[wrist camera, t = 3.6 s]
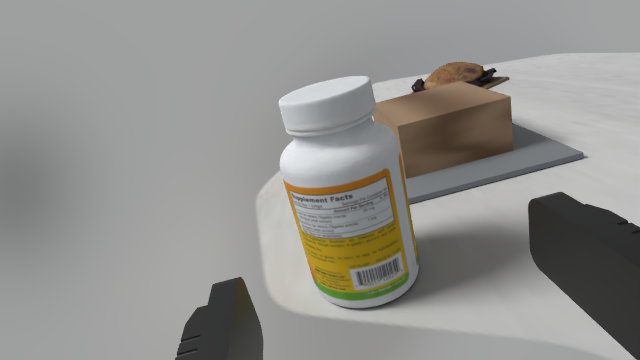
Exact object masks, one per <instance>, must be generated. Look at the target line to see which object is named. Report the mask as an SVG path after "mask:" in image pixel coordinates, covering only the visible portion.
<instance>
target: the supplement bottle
mask: <svg viewBox="0 0 640 360" xmlns="http://www.w3.org/2000/svg"><path fill="white" fill-rule="evenodd" d="M375 105H376V102H375V99H374V95H373V90H372V85H371V81H370V79H369V78H368V77H366V76H351V77H343V78H337V79H332V80H328V81H324V82H320V83H316V84H312V85H309V86H306V87H304V88H301V89H298V90H295V91H293V92H291V93H289V94H287V95H285V96H284V97H282V98H281V99H280V100H279V107H280V111H281V114H282V118H283V122H284V125H285V127H286V132H287V133H288V134H290V135H293V138H294V141H292V142H291V143H290V144H289V145H288V146H287V147H286V148H285V150H284V151H283V153H282V155H281V159H280V169H281V173H282V177H283V180H284V184H285V187H286V190H287V194H288V197H289V200H290V204H291V207H292V211H293V214H294V217H295V220H296V224H297V227H298V230H299V234H300V237H301V240H302V244H303V247H304V250H305V254H306V257H307V260H308V264H309V267H310V270H311V274H312V277H313V280H314V283H315V285H316V288H317V290H318V291H319V293H320V294H321V295H322V296H323V297H324V298H325V299H326V300H328V301H330V302H331V303H334V304H336V305H339V306H342V307H348V308H367V307H374V306H378V305H382V304H385V303H387V302H390V301H392V300H394V299H396V298H398V297H399V296H401V295H402V294H404V293H405V292H406V291H407V290H408V289H409V288H410V287H411V286H412V284H413V283H414V281H415V279H416V277H417V274H418V270H419V261H418V253H417V248H416V242H415V237H414V231H413V225H412V219H411V213H410V208H409V202H408V196H407V190H406V184H405V178H404V172H403V166H402V160H401V154H400V149H399V145H398V141H397V138H396V136H395V134H394V132H393V131H392V130H391V129H390V128H389V127H387V126H386V125H384V124H382V123H379V122H374V121H373V120H372V115H373V114H374V113H375V111H376V108H375Z"/></svg>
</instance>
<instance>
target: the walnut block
mask: <svg viewBox="0 0 640 360" xmlns="http://www.w3.org/2000/svg"><path fill="white" fill-rule="evenodd" d="M375 108H376V111H375V113H374V114H373V117H374V122H379V123H382V124H384V125H386V126H387V127H389V128H390V129H391V130H392V131H393V132H394V134H395V136H396V138H397V141H398V145H399V149H400V154H401V160H402V166H403V172H404V177H405V178H406V179H408V178H412V177H416V176H419V175H423V174H427V173H431V172H435V171H438V170H442V169H446V168H450V167H454V166H457V165H461V164H465V163H469V162H473V161H476V160H480V159H484V158H488V157H491V156H495V155H499V154H503V153H507V152H510V151H513V134H512V116H511V97H510V96H507V95H504V94H501V93H497V92H494V91H491V90H488V89H484V88H481V87H478V86H475V85H471V84H468V83H465V82H462V81H458V82H454V83H451V84H447V85H443V86H439V87H435V88H431V89H428V90H424V91H420V92H416V93H412V94H409V95H405V96H401V97H397V98H393V99H389V100H386V101H382V102H378V103H376V105H375Z"/></svg>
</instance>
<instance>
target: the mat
mask: <svg viewBox="0 0 640 360" xmlns="http://www.w3.org/2000/svg"><path fill="white" fill-rule="evenodd" d="M512 134H513V151H510V152H507V153H503V154H499V155H495V156H491V157H488V158H484V159H480V160H476V161H473V162H469V163H465V164H461V165H457V166H454V167H450V168H446V169H442V170H438V171H435V172H431V173H427V174H423V175H419V176H416V177H412V178H408V179H406V178H405V177H404V178H405V184H406V190H407V196H408V202H409V204H412V203H416V202H419V201H423V200H427V199H431V198H435V197H438V196H442V195H446V194H450V193H454V192H457V191H461V190H465V189H469V188H472V187H476V186H480V185H484V184H488V183H491V182H495V181H499V180H503V179H506V178H510V177H514V176H518V175H522V174H525V173H529V172H533V171H537V170H540V169H544V168H548V167H552V166H556V165H559V164H563V163H567V162H571V161H575V160H578V159H582V158H583V152H581V151H578V150H576V149H573V148H571V147H569V146H566V145H564V144H561V143H559V142H557V141H554V140H552V139H549V138H547V137H545V136H542V135H540V134H538V133H535V132H533V131H530V130H528V129H526V128H523V127H521V126H518V125H516V124H514V123H512Z"/></svg>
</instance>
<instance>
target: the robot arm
mask: <svg viewBox="0 0 640 360" xmlns="http://www.w3.org/2000/svg"><path fill="white" fill-rule="evenodd" d="M528 214H529V238H530V251H531V255H532V258H533V260H534V262H535V264H536V265H537V267H538V268H539V269H540V270H541V271H542V272H543V273H544V274H545V275H546V276H547V277H548V278H549V279H550V280H551V281H553V282H554V283H555V284H556V285H557V286H558V287H559V288H560V289H561V290H562V291H563V292H564V293H565V294H567V295H568V296H569V297H570V298H571V299H572V300H573V301H574V302H575V303H576V304H577V305H578V306H579V307H581V308H582V309H583V310H584V311H585V312H586V313H587V314H588V315H589V316H590V317H591V318H592V319H593V320H595V321H596V322H597V323H598V324H599V325H600V326H601V327H602V328H603V329H604V330H605V331H606V332H607V333H609V334H610V335H611V336H612V337H613V338H614V339H615V340H616V341H617V342H618V343H619V344H620V345H621V346H623V347H624V348H625V349H626V350H627V351H628V352H629V353H630V354H631V355H632V356H633V357H634V358H635V359H637V360H640V227H638V226H636V225H634V224H633V223H628V221H627V220H626V219H624V218H622V217H620V216H618V215H617V214H615V213H613V212H611V211H609V210H606V209H602V208H599V207H595V206H592V205H588V204H585V205H584V204H582V203H580V202H579V201H577V200H575V199H573V198H572V197H570V196H568V195H567V194H565V193H563V192H557V193H553V194H550V195H546V196H542V197H539V198H535V199H532V200H531V201H530V202H529V206H528ZM175 360H263V336H262V329H261V325H260V322H259V319H258V316H257V314H256V311H255V308H254V306H253V303H252V300H251V298H250V295H249V293H248V290H247V288H246V285H245V282H244V280H243V279H242V278H241V277H238V278H234V279H231V280H227V281H223V282H219V283H215V284H213V286H212V289H211V293H210V297H209V302H208V305H206V306H203V307H199V308H197V309H196V310H195V312H194V313H193V314H192V316H191V317H190V318H189V320H188V321H187V323H186V324H185V327H184V331H183V334H182V338H181V343H180V344H179V348H178V351H177V357H176V358H175Z"/></svg>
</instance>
